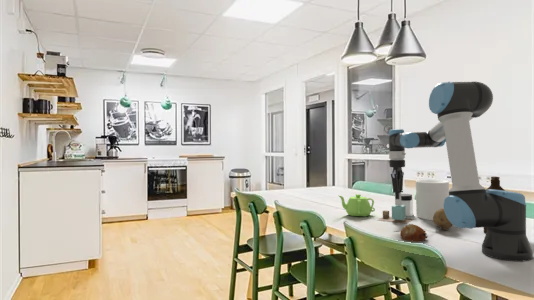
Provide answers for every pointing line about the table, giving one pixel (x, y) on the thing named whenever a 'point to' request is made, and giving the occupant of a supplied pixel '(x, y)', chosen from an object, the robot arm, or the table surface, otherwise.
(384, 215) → the stub post
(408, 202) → the jar
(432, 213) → the canister
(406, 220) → the board
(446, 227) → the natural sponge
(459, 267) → the table surface
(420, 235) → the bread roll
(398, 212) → the teal block
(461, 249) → the table surface
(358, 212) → the teapot
